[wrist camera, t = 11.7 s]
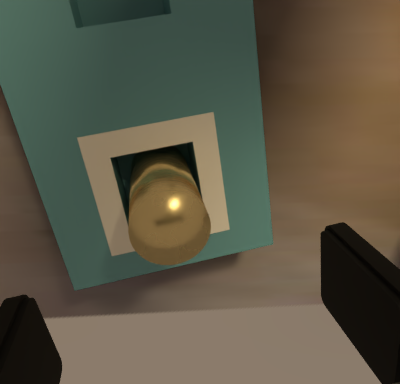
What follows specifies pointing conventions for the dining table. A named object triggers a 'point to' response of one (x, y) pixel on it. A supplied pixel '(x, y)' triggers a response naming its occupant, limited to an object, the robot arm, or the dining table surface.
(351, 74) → the dining table surface
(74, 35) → the socket block
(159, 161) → the brass pin
